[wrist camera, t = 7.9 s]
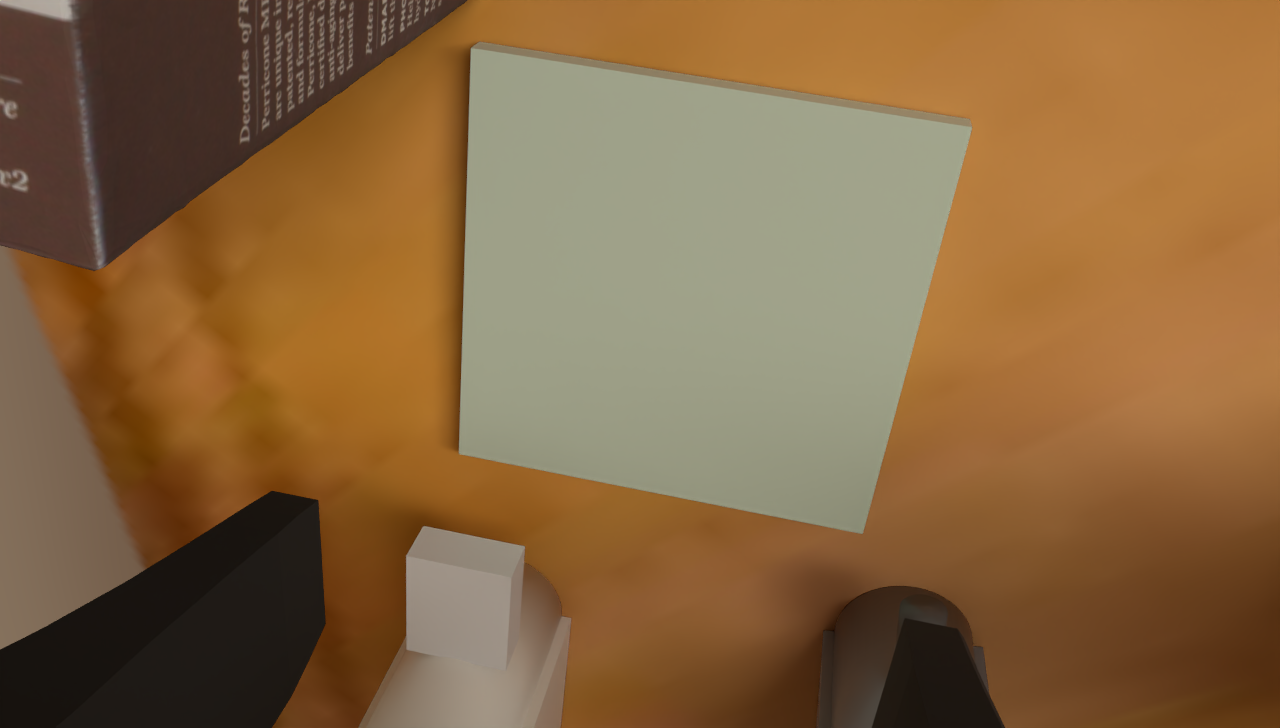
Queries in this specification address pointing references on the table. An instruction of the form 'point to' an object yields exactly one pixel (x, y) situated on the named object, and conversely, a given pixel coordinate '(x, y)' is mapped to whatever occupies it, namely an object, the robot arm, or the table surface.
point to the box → (163, 103)
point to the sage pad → (694, 280)
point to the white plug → (474, 640)
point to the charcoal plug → (876, 650)
